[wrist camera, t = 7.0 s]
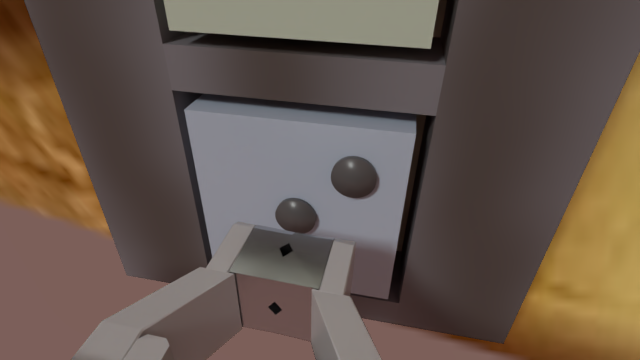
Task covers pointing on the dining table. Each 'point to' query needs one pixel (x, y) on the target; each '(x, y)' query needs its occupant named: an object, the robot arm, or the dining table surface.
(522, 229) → the rack
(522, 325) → the dining table surface
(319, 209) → the tile three
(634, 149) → the dining table surface
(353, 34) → the tile two
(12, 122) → the dining table surface
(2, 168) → the dining table surface
